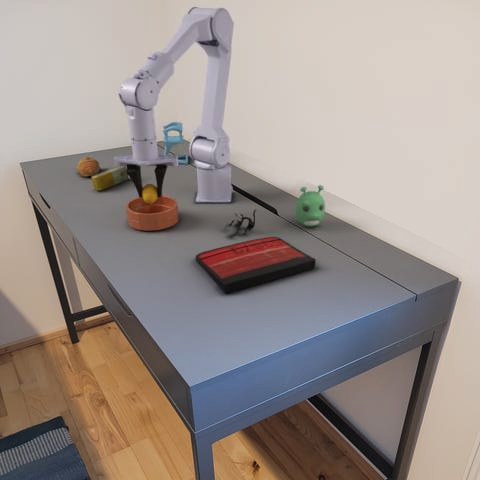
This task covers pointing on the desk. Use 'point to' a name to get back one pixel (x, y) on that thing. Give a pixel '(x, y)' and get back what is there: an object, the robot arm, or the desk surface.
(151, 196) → the blob
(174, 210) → the bowl
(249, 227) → the creature
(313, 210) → the alien toy
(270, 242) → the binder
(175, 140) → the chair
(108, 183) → the medication box
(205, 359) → the desk surface
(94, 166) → the pastry
